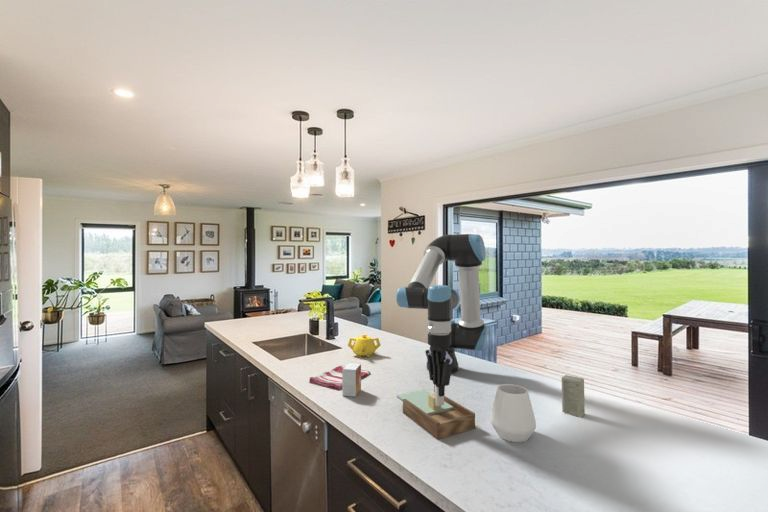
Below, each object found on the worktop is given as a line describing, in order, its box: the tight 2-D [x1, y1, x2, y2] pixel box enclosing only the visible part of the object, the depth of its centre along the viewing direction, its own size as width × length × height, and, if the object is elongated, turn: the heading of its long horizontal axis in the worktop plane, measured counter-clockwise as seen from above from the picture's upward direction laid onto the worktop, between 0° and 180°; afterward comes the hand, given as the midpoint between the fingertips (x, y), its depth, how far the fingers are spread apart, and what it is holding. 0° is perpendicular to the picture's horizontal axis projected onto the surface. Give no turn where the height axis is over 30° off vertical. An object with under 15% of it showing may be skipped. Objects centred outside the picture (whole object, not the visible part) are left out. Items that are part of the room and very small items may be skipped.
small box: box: [341, 362, 362, 398], centre depth 143 cm, size 8×6×10 cm
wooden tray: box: [402, 395, 476, 440], centre depth 119 cm, size 15×20×5 cm
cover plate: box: [396, 388, 453, 415], centre depth 126 cm, size 12×18×5 cm
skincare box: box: [561, 374, 586, 418], centre depth 125 cm, size 6×4×12 cm
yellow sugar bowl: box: [347, 333, 381, 358], centre depth 196 cm, size 20×18×11 cm
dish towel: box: [308, 365, 372, 391], centre depth 160 cm, size 17×23×3 cm
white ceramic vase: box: [489, 383, 537, 443], centre depth 110 cm, size 13×13×14 cm
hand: (439, 404), depth 118 cm, fingers closed
